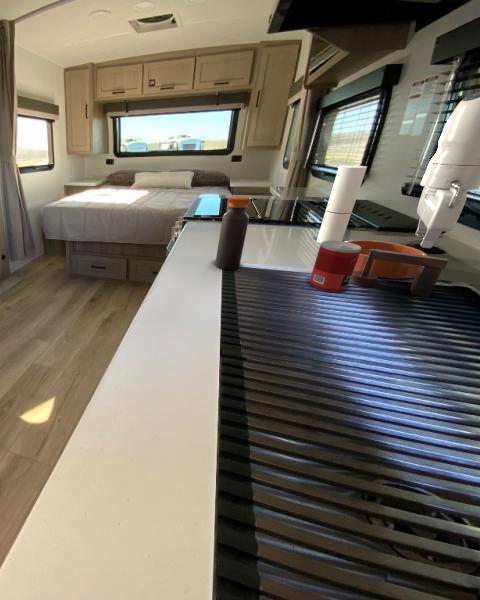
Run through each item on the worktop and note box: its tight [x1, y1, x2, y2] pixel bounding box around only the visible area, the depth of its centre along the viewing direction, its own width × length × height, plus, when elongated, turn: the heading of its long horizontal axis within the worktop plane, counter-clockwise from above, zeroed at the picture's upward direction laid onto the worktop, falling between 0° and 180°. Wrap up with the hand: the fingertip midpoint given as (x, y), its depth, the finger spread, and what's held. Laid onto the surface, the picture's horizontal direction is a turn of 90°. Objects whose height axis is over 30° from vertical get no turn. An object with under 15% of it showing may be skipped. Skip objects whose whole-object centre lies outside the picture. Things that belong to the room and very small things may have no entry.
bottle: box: [214, 196, 250, 271], centre depth 95 cm, size 7×7×20 cm
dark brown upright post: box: [409, 266, 443, 298], centre depth 78 cm, size 3×4×7 cm
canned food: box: [309, 240, 361, 293], centre depth 82 cm, size 8×8×11 cm
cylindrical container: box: [316, 165, 368, 244], centre depth 111 cm, size 7×7×25 cm
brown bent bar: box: [349, 249, 449, 288], centre depth 81 cm, size 16×5×9 cm, turn 53°
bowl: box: [344, 239, 428, 280], centre depth 94 cm, size 19×19×6 cm
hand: (422, 241), depth 76 cm, fingers open, 8 cm apart
